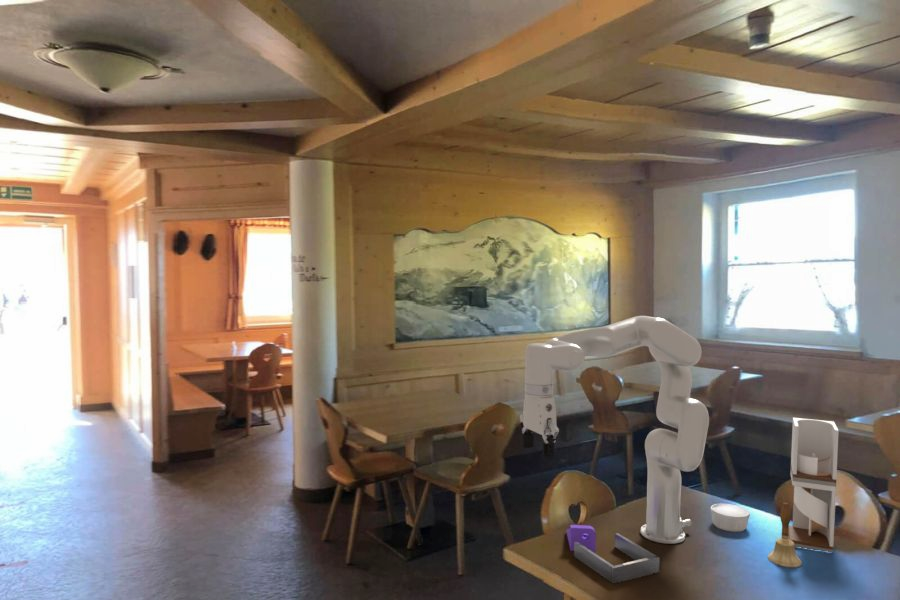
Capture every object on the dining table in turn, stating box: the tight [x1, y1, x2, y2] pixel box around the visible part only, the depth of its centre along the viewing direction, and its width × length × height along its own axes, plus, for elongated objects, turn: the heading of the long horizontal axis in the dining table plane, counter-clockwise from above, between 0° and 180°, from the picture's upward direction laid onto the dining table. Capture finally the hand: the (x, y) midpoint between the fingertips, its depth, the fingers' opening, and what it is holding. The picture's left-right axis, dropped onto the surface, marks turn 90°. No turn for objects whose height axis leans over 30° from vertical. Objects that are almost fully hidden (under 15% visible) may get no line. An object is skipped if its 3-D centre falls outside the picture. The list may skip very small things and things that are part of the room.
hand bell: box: [767, 501, 803, 568], centre depth 175 cm, size 8×8×16 cm
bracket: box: [566, 524, 597, 553], centre depth 186 cm, size 12×7×7 cm, turn 175°
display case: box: [788, 417, 840, 553], centre depth 186 cm, size 11×11×35 cm
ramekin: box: [710, 503, 751, 533], centre depth 199 cm, size 11×11×5 cm
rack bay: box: [573, 532, 660, 584], centre depth 172 cm, size 15×16×4 cm
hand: (537, 452), depth 174 cm, fingers open, 9 cm apart
